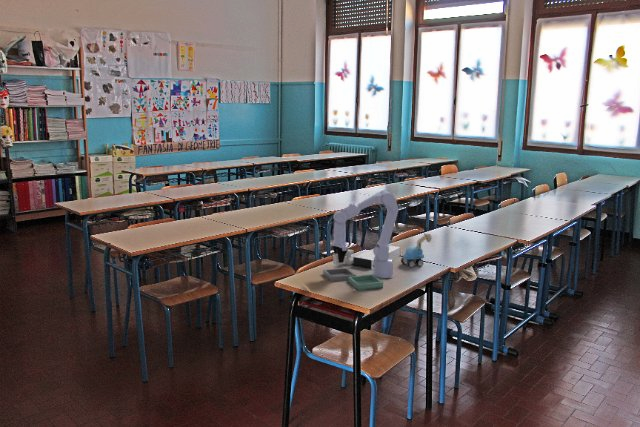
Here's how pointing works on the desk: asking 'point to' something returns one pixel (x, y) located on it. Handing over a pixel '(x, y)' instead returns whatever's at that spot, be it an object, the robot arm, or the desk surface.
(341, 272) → the bin
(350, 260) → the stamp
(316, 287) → the desk surface
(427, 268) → the desk surface
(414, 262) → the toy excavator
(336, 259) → the light gray block
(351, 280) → the bin
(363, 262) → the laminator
